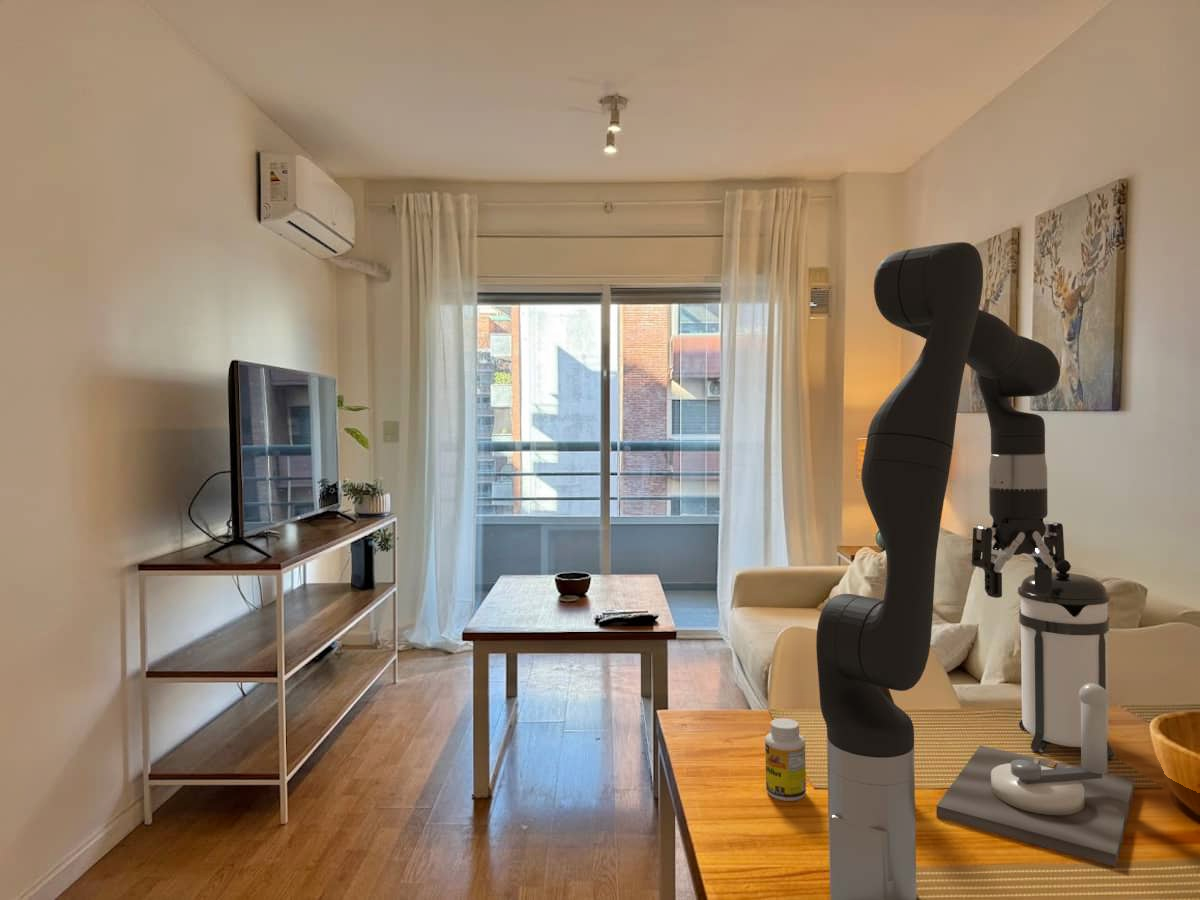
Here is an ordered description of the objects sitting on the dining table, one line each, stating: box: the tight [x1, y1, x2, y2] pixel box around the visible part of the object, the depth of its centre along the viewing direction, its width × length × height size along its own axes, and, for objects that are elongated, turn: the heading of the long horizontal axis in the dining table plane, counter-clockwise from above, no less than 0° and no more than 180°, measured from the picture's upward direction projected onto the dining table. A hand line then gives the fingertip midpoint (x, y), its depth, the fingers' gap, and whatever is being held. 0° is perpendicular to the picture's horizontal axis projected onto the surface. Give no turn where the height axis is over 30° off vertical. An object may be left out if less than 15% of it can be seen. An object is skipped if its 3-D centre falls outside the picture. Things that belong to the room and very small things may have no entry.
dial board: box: [935, 745, 1135, 868], centre depth 106 cm, size 24×20×2 cm
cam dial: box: [991, 683, 1109, 815], centre depth 105 cm, size 16×11×15 cm
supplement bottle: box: [764, 717, 807, 802], centre depth 110 cm, size 6×6×10 cm
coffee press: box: [1017, 559, 1115, 760], centre depth 126 cm, size 17×16×30 cm
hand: (1018, 594), depth 114 cm, fingers open, 8 cm apart
